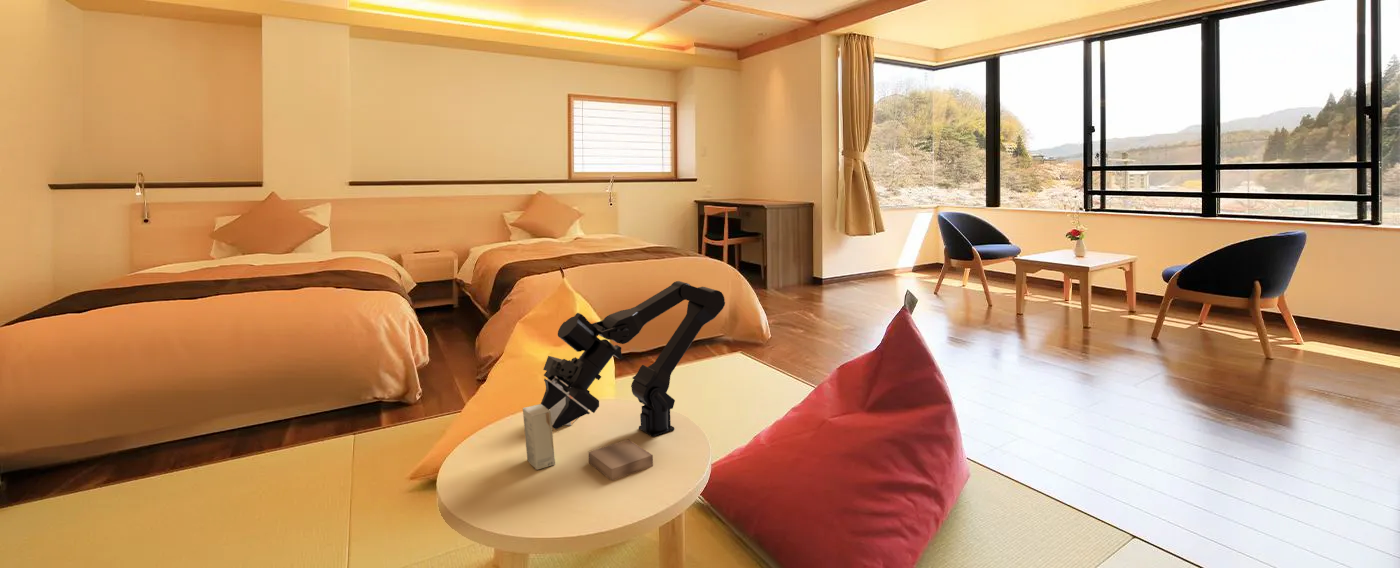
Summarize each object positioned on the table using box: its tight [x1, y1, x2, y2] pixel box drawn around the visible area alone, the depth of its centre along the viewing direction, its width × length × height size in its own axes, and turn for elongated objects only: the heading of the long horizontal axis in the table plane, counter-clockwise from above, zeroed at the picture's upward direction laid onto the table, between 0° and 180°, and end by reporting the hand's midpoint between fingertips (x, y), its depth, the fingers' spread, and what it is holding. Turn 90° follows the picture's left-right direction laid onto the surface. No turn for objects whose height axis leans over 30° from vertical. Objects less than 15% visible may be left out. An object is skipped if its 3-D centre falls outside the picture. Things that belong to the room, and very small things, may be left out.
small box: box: [549, 390, 577, 426], centre depth 160 cm, size 8×6×10 cm
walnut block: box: [587, 439, 654, 481], centre depth 137 cm, size 10×10×3 cm
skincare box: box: [522, 403, 556, 470], centre depth 137 cm, size 6×4×12 cm
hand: (546, 421), depth 138 cm, fingers open, 9 cm apart
